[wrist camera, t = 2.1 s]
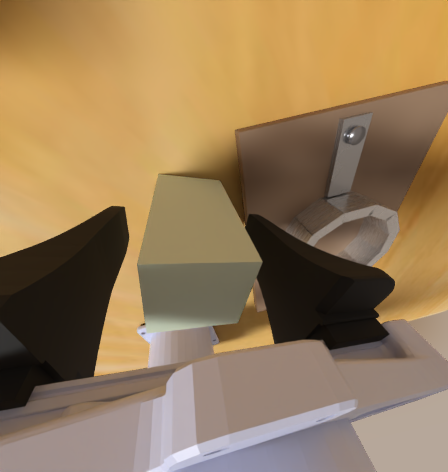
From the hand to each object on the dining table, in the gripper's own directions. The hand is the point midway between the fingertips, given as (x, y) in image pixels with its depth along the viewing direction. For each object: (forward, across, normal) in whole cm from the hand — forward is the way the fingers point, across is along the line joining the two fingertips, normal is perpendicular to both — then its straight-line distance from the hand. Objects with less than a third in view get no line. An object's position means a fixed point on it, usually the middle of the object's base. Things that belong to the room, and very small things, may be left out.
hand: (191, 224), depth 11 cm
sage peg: (+3, 0, 0) cm, 3 cm away
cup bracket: (+3, -12, +2) cm, 13 cm away
